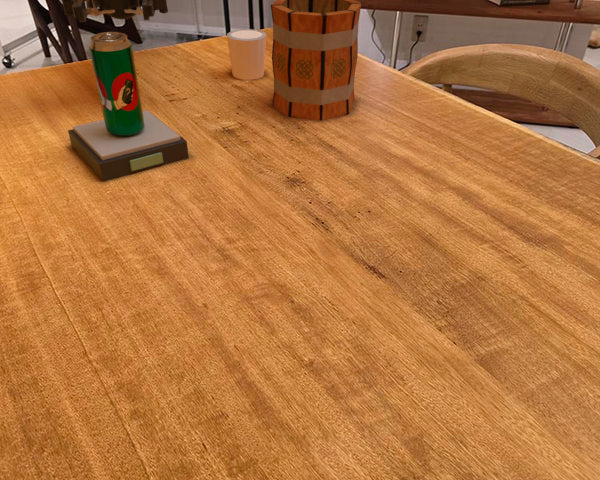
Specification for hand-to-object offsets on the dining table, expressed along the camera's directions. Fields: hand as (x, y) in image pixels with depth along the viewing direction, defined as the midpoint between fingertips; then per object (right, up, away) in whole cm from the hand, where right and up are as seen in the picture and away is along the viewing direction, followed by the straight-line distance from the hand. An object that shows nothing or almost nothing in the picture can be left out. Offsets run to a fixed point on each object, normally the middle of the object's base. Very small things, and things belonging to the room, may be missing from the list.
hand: (113, 13), depth 79 cm
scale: (+2, -19, +2) cm, 19 cm away
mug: (+27, -5, +19) cm, 33 cm away
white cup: (+16, +2, +27) cm, 31 cm away
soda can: (+2, -16, 0) cm, 16 cm away
